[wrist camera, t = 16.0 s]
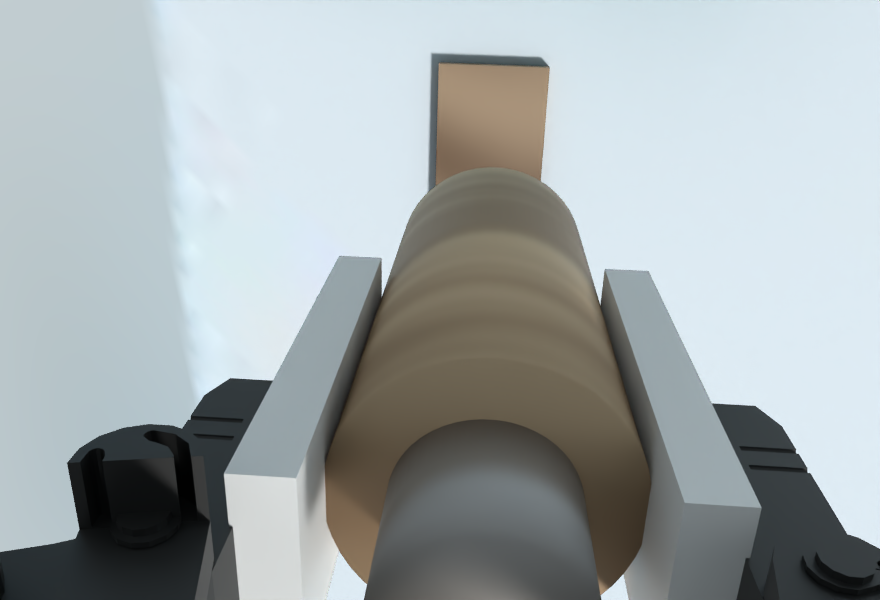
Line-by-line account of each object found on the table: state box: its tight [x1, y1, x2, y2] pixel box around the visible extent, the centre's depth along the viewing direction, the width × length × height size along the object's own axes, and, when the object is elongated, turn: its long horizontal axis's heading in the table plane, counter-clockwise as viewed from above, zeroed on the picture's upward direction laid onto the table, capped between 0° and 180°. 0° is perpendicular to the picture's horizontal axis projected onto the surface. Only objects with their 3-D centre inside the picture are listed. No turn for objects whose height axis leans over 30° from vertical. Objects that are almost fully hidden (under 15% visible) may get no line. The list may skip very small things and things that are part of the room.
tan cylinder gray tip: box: [325, 167, 651, 600], centre depth 13 cm, size 4×4×11 cm
